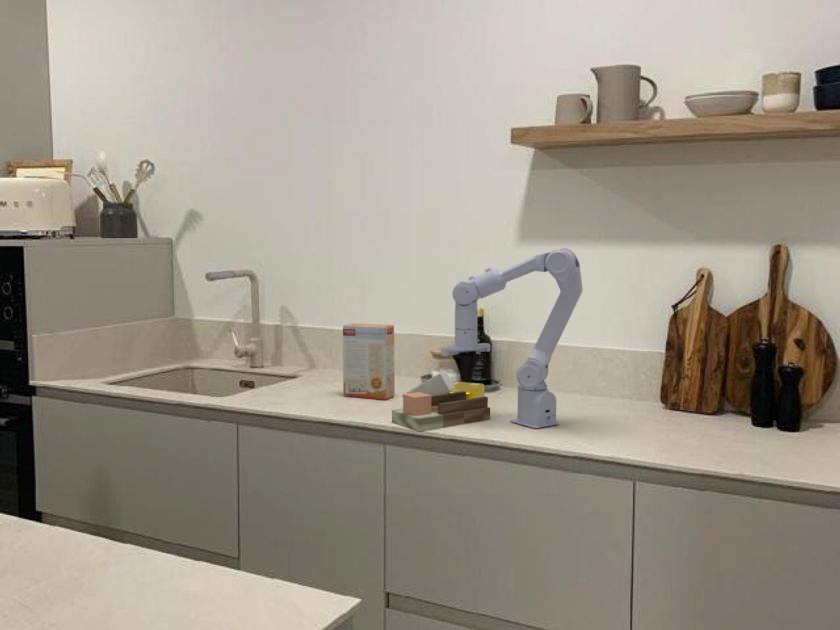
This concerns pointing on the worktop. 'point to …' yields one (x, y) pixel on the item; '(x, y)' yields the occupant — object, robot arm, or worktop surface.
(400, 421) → the trap channel
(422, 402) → the block
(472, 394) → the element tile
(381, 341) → the cracker box
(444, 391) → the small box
